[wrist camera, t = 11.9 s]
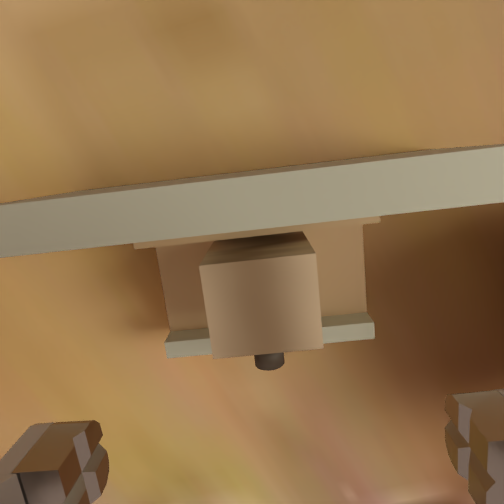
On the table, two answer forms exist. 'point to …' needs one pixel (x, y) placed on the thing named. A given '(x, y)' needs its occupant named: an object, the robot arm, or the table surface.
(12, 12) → the table surface
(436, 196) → the grey boxy piece
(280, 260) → the cabinet block
